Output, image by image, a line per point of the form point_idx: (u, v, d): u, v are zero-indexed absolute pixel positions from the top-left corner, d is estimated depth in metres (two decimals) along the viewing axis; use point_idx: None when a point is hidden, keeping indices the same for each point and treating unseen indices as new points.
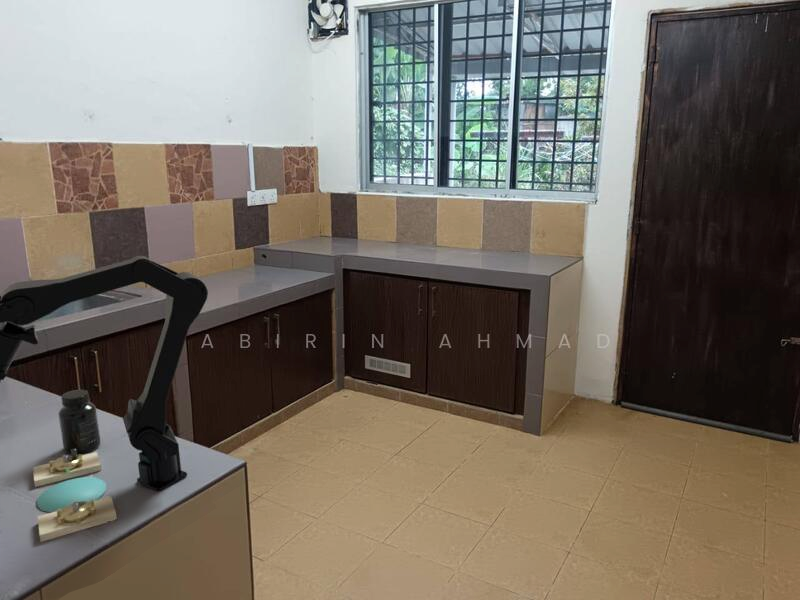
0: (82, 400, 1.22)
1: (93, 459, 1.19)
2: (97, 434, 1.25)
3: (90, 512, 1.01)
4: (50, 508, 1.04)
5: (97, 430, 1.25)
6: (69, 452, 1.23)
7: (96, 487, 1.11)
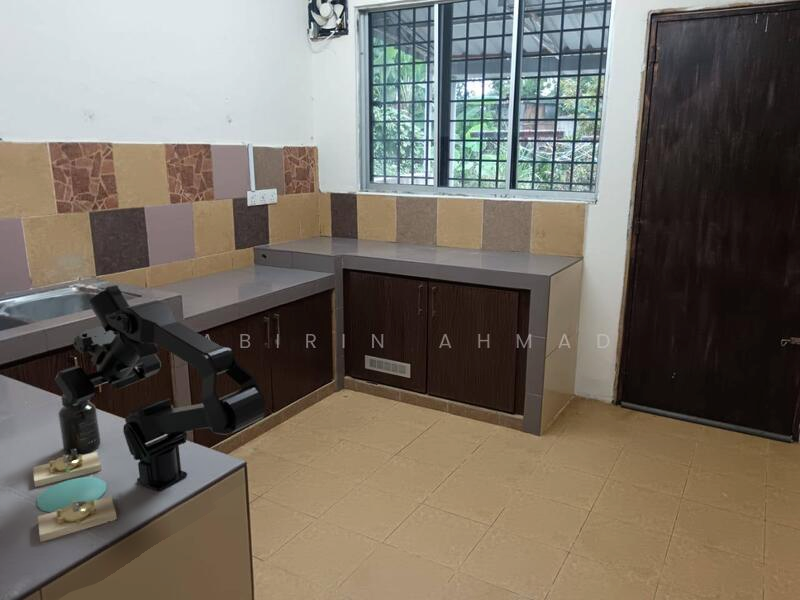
0: None
1: (93, 459, 1.19)
2: (97, 434, 1.25)
3: (90, 512, 1.01)
4: (50, 508, 1.04)
5: (97, 430, 1.25)
6: (69, 452, 1.23)
7: (96, 487, 1.11)
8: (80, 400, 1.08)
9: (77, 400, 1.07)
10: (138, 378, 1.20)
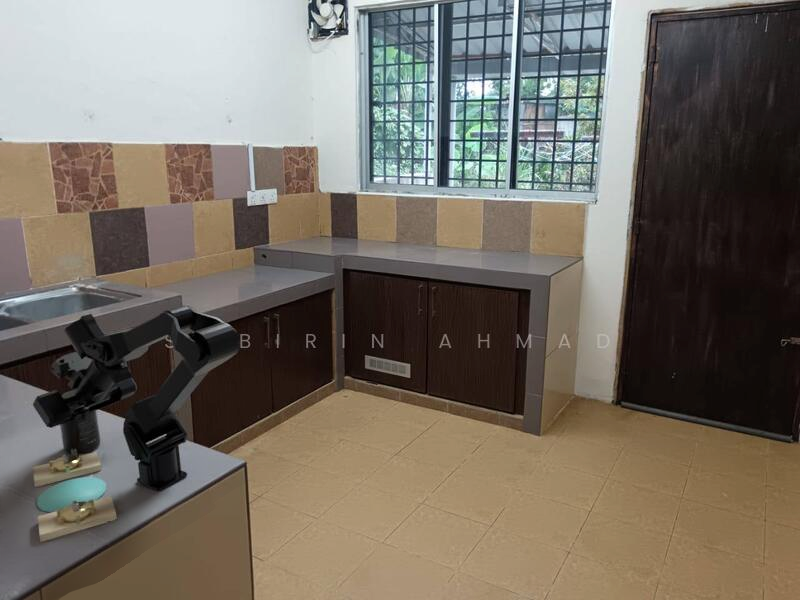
0: None
1: (93, 459, 1.19)
2: (97, 434, 1.25)
3: (90, 512, 1.01)
4: (50, 508, 1.04)
5: (97, 430, 1.25)
6: (69, 452, 1.23)
7: (96, 487, 1.11)
8: (57, 423, 1.13)
9: (54, 424, 1.13)
10: (109, 402, 1.24)
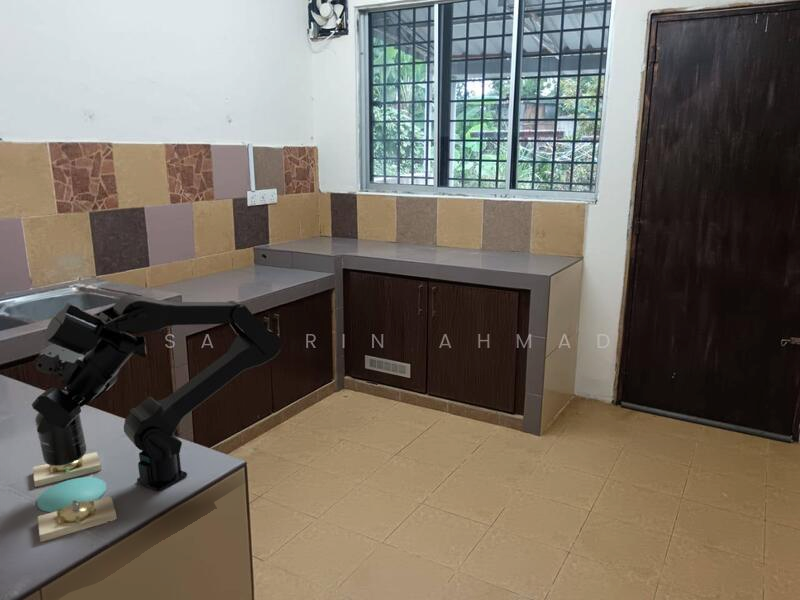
0: None
1: (93, 459, 1.19)
2: None
3: (90, 512, 1.01)
4: (50, 508, 1.04)
5: (82, 432, 1.10)
6: (60, 463, 1.06)
7: (96, 487, 1.11)
8: (69, 422, 0.98)
9: (69, 422, 0.98)
10: (95, 396, 1.10)
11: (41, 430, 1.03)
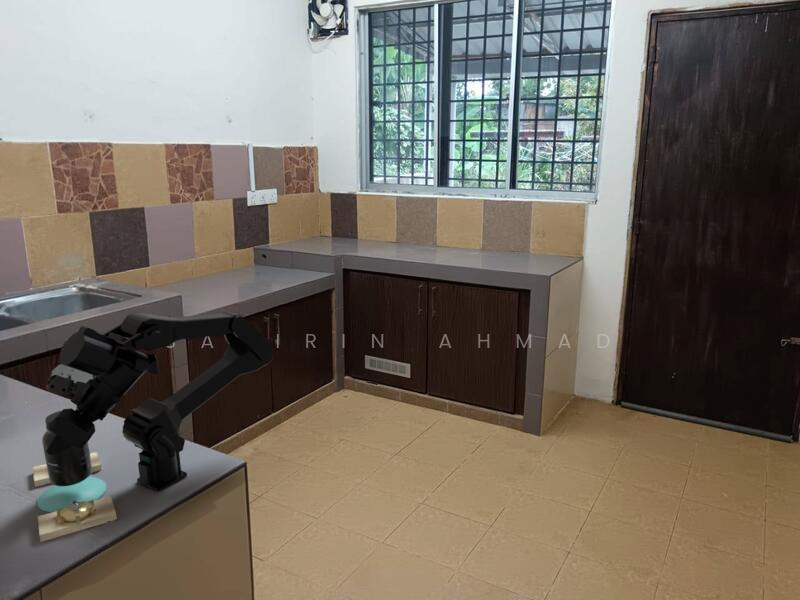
0: None
1: (93, 459, 1.19)
2: None
3: (90, 512, 1.01)
4: (50, 508, 1.04)
5: None
6: (68, 483, 1.05)
7: (96, 487, 1.11)
8: None
9: (86, 442, 0.98)
10: None
11: (51, 451, 1.03)
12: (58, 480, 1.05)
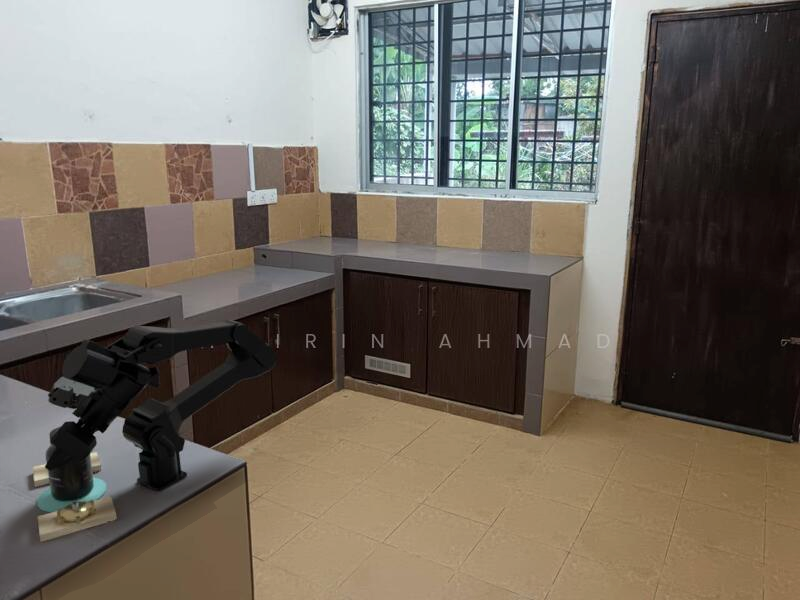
0: None
1: (93, 459, 1.19)
2: None
3: (90, 512, 1.01)
4: (50, 508, 1.04)
5: None
6: (70, 498, 1.06)
7: (96, 487, 1.11)
8: None
9: (87, 455, 0.99)
10: None
11: (50, 466, 1.02)
12: (60, 495, 1.06)
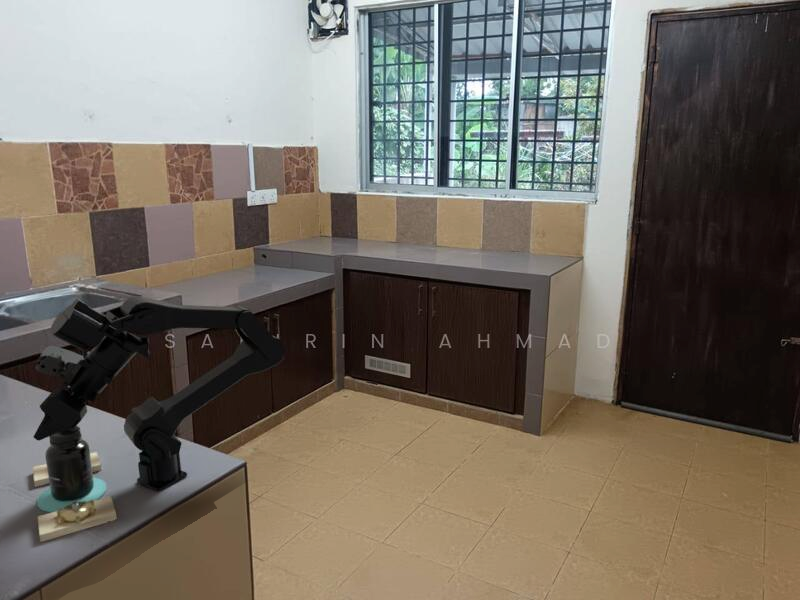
0: (79, 434, 1.07)
1: (93, 459, 1.19)
2: None
3: (90, 512, 1.01)
4: (50, 508, 1.04)
5: None
6: (70, 498, 1.06)
7: (96, 487, 1.11)
8: None
9: (78, 422, 0.97)
10: None
11: (38, 436, 1.00)
12: (60, 495, 1.06)
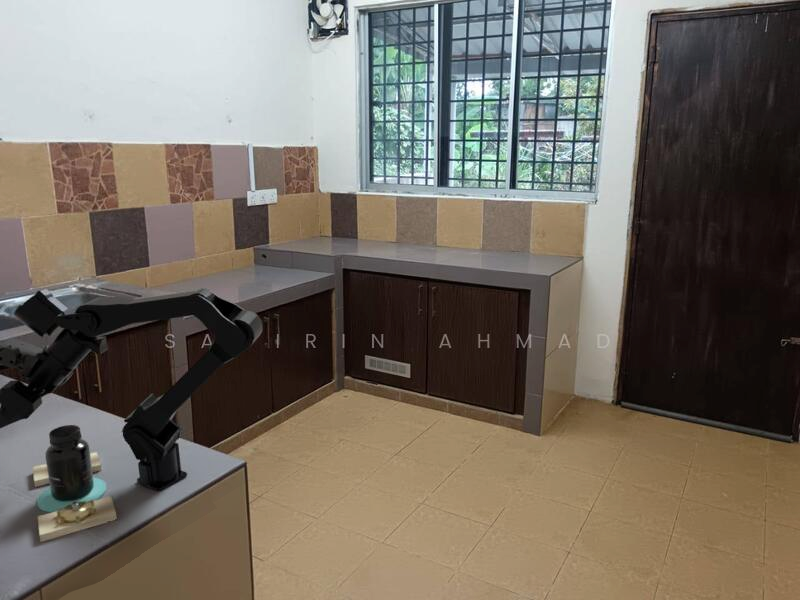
0: (79, 434, 1.07)
1: (93, 459, 1.19)
2: None
3: (90, 512, 1.01)
4: (50, 508, 1.04)
5: None
6: (70, 498, 1.06)
7: (96, 487, 1.11)
8: (32, 413, 1.02)
9: (31, 413, 1.01)
10: None
11: None
12: (60, 495, 1.06)
